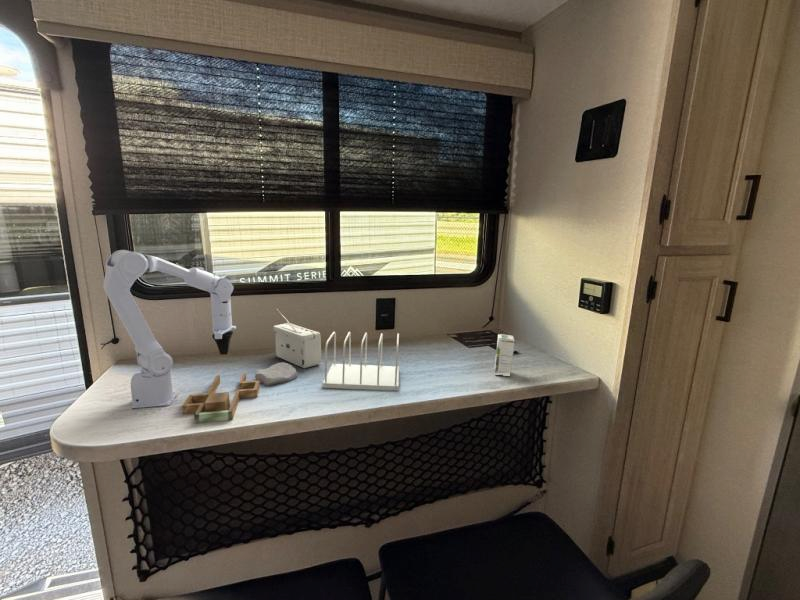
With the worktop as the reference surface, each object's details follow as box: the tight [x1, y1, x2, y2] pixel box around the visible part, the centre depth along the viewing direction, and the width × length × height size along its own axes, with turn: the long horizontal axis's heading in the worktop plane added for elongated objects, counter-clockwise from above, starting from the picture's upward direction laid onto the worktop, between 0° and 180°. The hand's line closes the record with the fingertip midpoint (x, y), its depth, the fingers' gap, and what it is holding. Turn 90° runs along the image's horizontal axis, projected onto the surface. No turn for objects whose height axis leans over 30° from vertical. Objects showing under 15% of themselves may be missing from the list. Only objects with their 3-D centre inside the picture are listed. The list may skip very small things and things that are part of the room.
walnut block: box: [205, 391, 231, 412], centre depth 102 cm, size 5×6×4 cm
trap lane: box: [181, 373, 261, 424], centre depth 110 cm, size 18×27×2 cm
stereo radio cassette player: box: [272, 308, 322, 369], centre depth 141 cm, size 21×8×20 cm, turn 50°
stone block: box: [254, 362, 298, 386], centre depth 126 cm, size 12×5×10 cm
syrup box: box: [494, 333, 515, 374], centre depth 135 cm, size 6×6×14 cm
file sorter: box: [321, 331, 400, 391], centre depth 126 cm, size 25×17×16 cm
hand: (224, 353), depth 121 cm, fingers closed
